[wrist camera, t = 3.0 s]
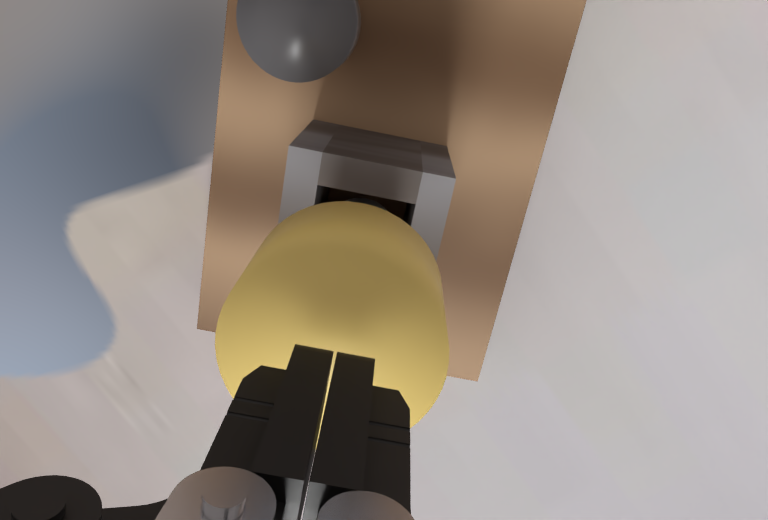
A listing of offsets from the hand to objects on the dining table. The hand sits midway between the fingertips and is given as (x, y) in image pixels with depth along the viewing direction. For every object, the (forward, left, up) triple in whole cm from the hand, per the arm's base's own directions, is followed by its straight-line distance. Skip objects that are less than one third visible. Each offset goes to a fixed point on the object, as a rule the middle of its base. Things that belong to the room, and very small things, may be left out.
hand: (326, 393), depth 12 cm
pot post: (-6, -3, -13) cm, 15 cm away
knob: (0, 0, -9) cm, 9 cm away
